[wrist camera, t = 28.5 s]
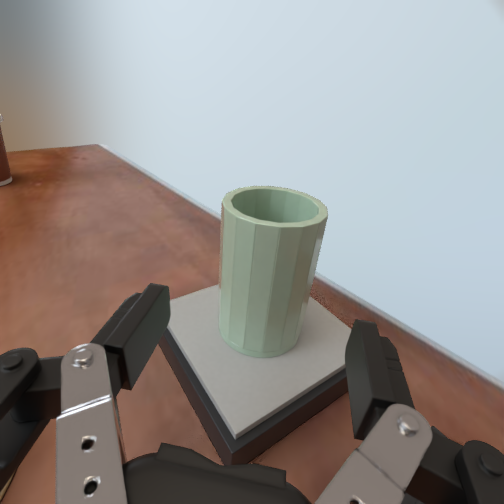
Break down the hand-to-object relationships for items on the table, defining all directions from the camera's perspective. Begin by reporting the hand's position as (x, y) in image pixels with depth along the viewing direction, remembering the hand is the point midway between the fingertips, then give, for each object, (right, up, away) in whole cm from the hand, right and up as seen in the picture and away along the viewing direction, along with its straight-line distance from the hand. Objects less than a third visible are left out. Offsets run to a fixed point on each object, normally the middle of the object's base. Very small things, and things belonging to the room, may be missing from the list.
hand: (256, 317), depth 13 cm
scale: (0, -5, +12) cm, 13 cm away
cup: (0, -3, +10) cm, 11 cm away
